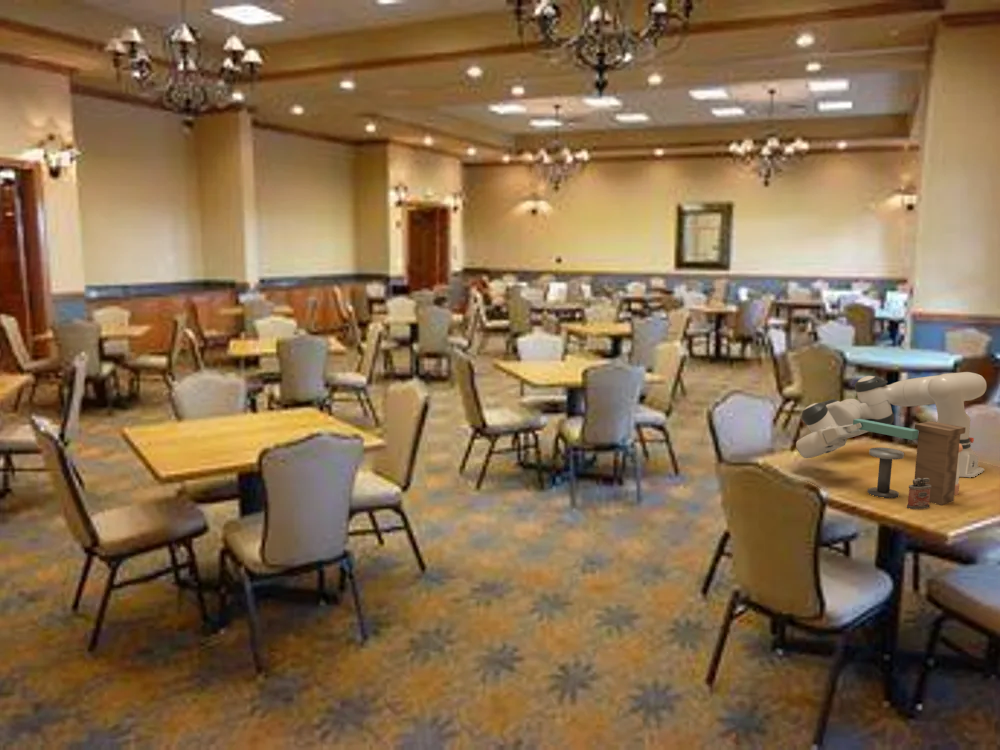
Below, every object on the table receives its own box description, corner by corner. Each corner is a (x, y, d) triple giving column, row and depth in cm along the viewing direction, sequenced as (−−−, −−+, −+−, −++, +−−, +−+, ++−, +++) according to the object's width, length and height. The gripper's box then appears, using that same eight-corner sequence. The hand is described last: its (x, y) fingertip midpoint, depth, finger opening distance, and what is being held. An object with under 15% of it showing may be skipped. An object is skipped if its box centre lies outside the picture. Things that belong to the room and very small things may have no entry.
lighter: (911, 509, 279) (914, 480, 277) (904, 506, 282) (907, 477, 280) (931, 508, 281) (934, 478, 279) (924, 504, 284) (927, 476, 282)
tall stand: (923, 493, 298) (930, 421, 294) (958, 501, 288) (965, 427, 284) (908, 497, 292) (915, 424, 288) (942, 506, 283) (950, 430, 279)
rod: (858, 426, 303) (859, 418, 303) (917, 438, 285) (918, 429, 285) (852, 427, 301) (853, 419, 301) (911, 439, 283) (912, 431, 283)
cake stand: (877, 488, 303) (880, 446, 301) (906, 495, 294) (910, 452, 292) (859, 492, 297) (862, 449, 295) (888, 500, 288) (892, 456, 286)
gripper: (854, 441, 314) (885, 429, 304) (820, 448, 303) (852, 435, 292) (847, 425, 316) (879, 412, 305) (814, 431, 305) (845, 418, 294)
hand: (865, 424), depth 299 cm, fingers closed on rod, 3 cm apart
